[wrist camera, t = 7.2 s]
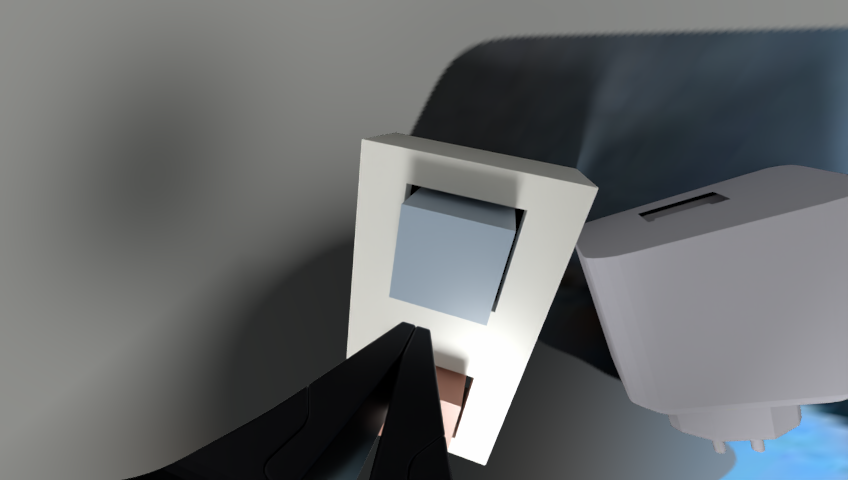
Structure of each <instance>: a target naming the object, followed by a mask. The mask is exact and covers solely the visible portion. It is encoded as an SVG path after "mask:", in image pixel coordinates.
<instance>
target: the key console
mask: <svg viewBox="0 0 848 480" xmlns="http://www.w3.org/2000/svg"><path fill="white" fill-rule="evenodd" d="M359 173H360V174H359V187H358V203H357V216H356V230H355V231H356V232H355V244H354V259H353V273H352V288H351V302H350V317H349V332H348V346H347V359H348V358H349V357H350V356H352V355H353V354H355V353H356V352H358V351H359V350H361V349H362V348H364V347H365V346H367V345H368V344H370V343H371V342H373V341H374V340H376V339H377V338H379V337H380V336H382V335H383V334H385V333H386V332H388V331H389V330H390V329H392V328H393V327H395V326H396V325H398V324H399V323H401V322H407V323H410V324H414V325H415V326H416V327H417V326H420V327H424V328H427V329H429V330H430V332H431V339H432V346H433V353H434V360H435V365H436V366H439V367H442V368H445V369H448V370H451V371H454V372H457V373H461V374H464V375H467V376H470V377H472V379H471V382H470V385H469V388H465V387H464V393H463V399H462V405H461V409H460V413H459V416H458V419H457V422H456V425H455V429H454V432H453V435H452V438H451V442H450V445H449V448H448V452H450V453H453V454H456V455H458V456H461V457H464V458H466V459H469V460H472V461H474V462H477V463H480V464H483V465H486V462H487V460H488V457H489V455H490V453H491V450H492V448H493V445H494V443H495V440H496V438H497V436H498V433H499V430H500V428H501V426H502V423H503V421H504V418H505V416H506V414H507V411H508V408H509V406H510V404H511V401H512V399H513V396H514V394H515V392H516V389H517V386H518V384H519V382H520V379H521V377H522V374H523V372H524V370H525V367H526V364H527V362H528V360H529V357H530V355H531V352H532V350H533V347H534V345H535V343H536V340H537V338H538V335H539V333H540V330H541V328H542V326H543V323H544V321H545V318H546V316H547V313H548V311H549V308H550V306H551V304H552V301H553V299H554V296H555V294H556V291H557V289H558V286H559V284H560V282H561V279H562V277H563V274H564V272H565V269H566V267H567V264H568V262H569V260H570V257H571V255H572V252H573V250H574V247H575V245H576V242H577V240H578V238H579V235H580V233H581V230H582V228H583V225H584V223H585V220H586V218H587V216H588V213H589V211H590V208H591V206H592V203H593V201H594V198H595V196H596V194H597V191H598V189H599V188H598V187H597V186H596V185H595V184H594V183H592V182H591V181H590V180H589V179H588V178H587V177H585V176H584V175H583V174H582V173H581V172H580V171H579V170H577V169H575V168H570V167H565V166H560V165H555V164H550V163H545V162H540V161H535V160H530V159H525V158H520V157H515V156H510V155H505V154H500V153H495V152H490V151H485V150H480V149H475V148H470V147H465V146H460V145H455V144H450V143H445V142H440V141H435V140H430V139H425V138H420V137H415V136H410V135H404V134H399V133H392V134H386V135H381V136H376V137H370V138H366V139H362V144H361V159H360V172H359ZM412 184H413V185H417V186H421V187H426V188H430V189H435V190H439V191H443V192H448V193H452V194H457V195H461V196H466V197H470V198H474V199H479V200H483V201H488V202H492V203H496V204H501V205H505V206H510V207H514V208H518V209H523V210H524V213H523V216H522V220H521V223H520V226H519V229H518V232H517V236H516V239H515V242H514V245H513V248H512V251H511V255H510V258H509V261H508V264H507V267H506V271H505V274H504V277H503V280H502V283H501V287H500V290H499V293H498V296H497V299H496V301H494V303H493V307H492V310H491V313H490V316H489V319H488V323H487V326H486V325H482V324H479V323H476V322H472V321H469V320H465V319H462V318H459V317H455V316H452V315H448V314H445V313H442V312H438V311H435V310H431V309H428V308H425V307H421V306H418V305H415V304H411V303H408V302H404V301H401V300H398V299H394V298H391V297H389V293H390V286H391V278H392V271H393V263H394V256H395V248H396V241H397V233H398V226H399V218H400V211H401V204H402V203H403V202H404V201H405V200H407V199H408V198H409V197H410V194H411V187H412Z"/></svg>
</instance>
